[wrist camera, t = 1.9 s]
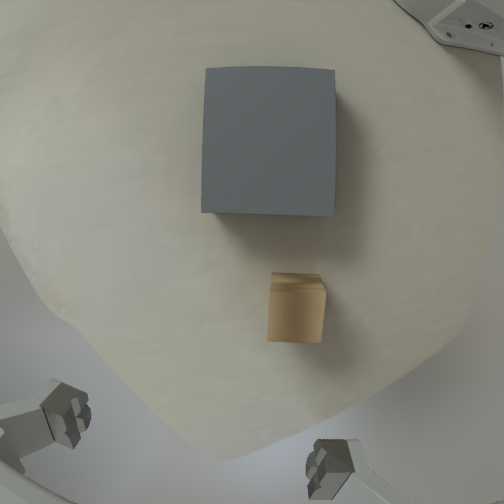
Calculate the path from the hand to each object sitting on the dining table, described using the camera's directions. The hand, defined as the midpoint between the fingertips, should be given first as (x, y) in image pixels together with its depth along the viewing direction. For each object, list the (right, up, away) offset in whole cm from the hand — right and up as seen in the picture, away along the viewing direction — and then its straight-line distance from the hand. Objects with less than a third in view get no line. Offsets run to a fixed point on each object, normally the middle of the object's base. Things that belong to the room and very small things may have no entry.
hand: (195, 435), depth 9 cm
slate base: (+4, +17, +21) cm, 27 cm away
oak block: (+6, +1, +24) cm, 25 cm away
